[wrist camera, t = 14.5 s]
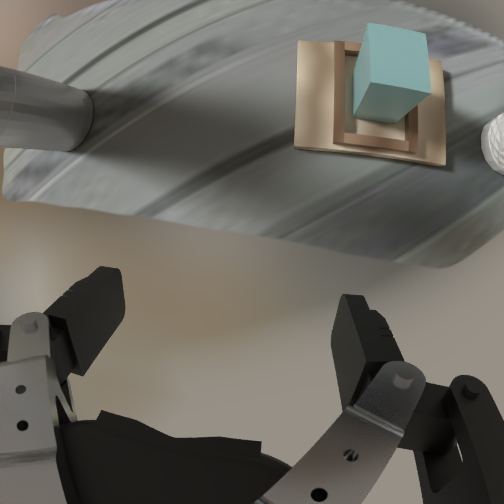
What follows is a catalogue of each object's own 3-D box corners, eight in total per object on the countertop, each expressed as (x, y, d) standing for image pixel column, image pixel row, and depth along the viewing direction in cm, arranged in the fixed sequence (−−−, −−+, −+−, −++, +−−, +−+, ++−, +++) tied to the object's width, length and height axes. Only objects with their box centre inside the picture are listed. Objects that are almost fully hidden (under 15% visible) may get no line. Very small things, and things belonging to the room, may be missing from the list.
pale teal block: (352, 117, 28) (370, 82, 18) (353, 73, 27) (367, 22, 16) (394, 123, 27) (431, 93, 17) (394, 79, 26) (425, 33, 16)
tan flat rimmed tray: (295, 148, 32) (292, 143, 28) (299, 48, 29) (296, 34, 26) (438, 166, 29) (451, 164, 26) (435, 67, 26) (446, 56, 23)
